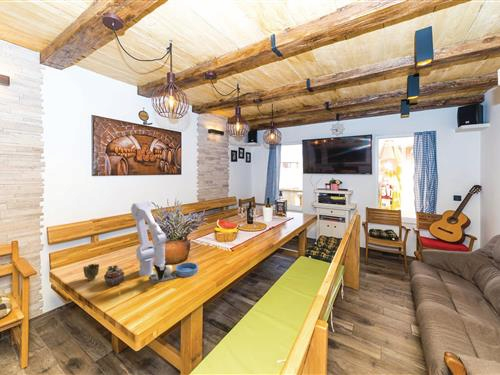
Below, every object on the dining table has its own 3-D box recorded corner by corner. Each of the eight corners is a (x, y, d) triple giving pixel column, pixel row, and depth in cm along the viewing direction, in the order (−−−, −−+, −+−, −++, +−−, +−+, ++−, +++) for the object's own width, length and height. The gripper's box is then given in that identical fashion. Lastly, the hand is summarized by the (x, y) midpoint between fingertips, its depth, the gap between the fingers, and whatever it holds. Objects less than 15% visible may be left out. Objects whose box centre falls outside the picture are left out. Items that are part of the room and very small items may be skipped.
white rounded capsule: (154, 279, 129) (154, 269, 129) (162, 277, 132) (162, 268, 131) (156, 282, 125) (156, 272, 125) (164, 280, 128) (164, 271, 127)
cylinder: (163, 274, 135) (163, 265, 134) (171, 272, 137) (171, 264, 137) (165, 277, 131) (165, 268, 131) (172, 275, 134) (173, 267, 133)
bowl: (173, 270, 142) (173, 265, 142) (193, 265, 149) (193, 260, 149) (178, 279, 131) (179, 273, 130) (200, 274, 138) (201, 268, 138)
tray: (149, 277, 132) (149, 275, 132) (172, 272, 139) (172, 270, 139) (152, 284, 123) (152, 282, 123) (176, 279, 131) (176, 277, 130)
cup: (94, 275, 132) (94, 262, 132) (102, 278, 129) (101, 265, 128) (80, 280, 126) (80, 267, 125) (88, 284, 122) (87, 270, 122)
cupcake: (126, 283, 124) (126, 266, 123) (106, 289, 117) (105, 271, 117) (121, 277, 131) (121, 261, 130) (102, 282, 124) (102, 265, 124)
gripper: (150, 251, 131) (150, 273, 132) (154, 260, 119) (154, 284, 120) (162, 249, 135) (162, 271, 136) (168, 257, 123) (168, 281, 124)
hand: (159, 277), depth 128 cm, fingers closed on white rounded capsule, 4 cm apart
